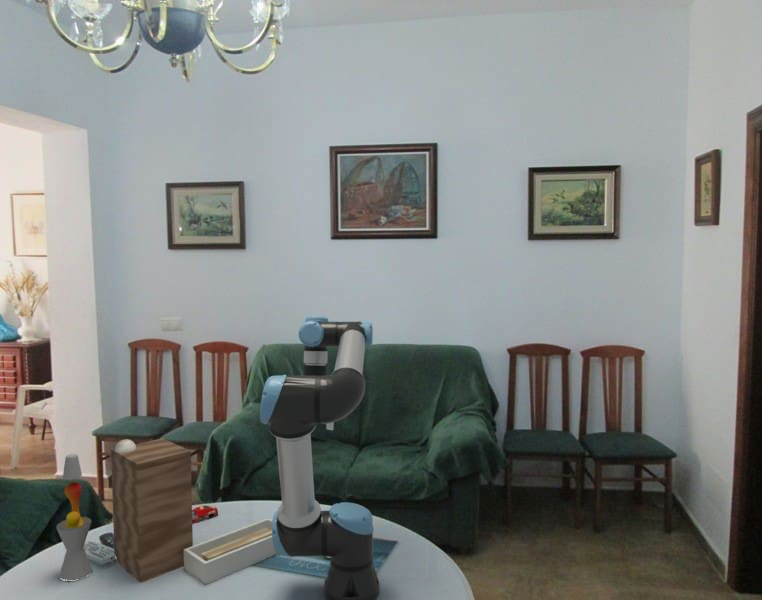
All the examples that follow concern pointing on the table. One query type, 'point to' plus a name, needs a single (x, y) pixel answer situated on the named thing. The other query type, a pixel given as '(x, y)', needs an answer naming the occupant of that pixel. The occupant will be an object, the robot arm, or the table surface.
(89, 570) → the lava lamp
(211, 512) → the race car
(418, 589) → the table surface
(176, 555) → the wooden block
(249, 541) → the wooden board
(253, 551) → the tray
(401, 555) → the table surface
